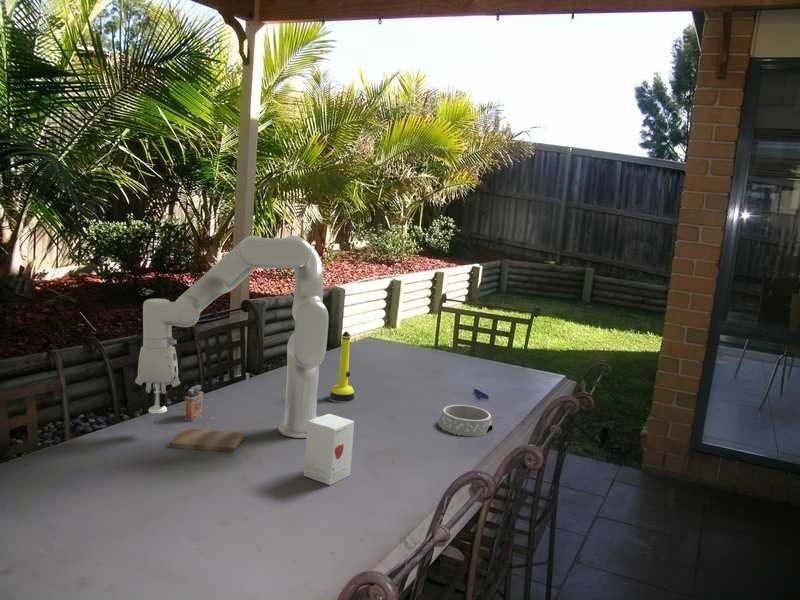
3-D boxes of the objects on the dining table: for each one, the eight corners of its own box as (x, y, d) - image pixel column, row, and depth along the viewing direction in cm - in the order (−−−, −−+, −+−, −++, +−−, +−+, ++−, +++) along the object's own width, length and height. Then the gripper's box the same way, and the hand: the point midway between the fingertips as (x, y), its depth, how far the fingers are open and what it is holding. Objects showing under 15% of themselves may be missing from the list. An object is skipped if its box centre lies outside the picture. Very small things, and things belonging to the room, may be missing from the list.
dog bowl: (498, 425, 219) (499, 410, 219) (481, 441, 203) (482, 424, 202) (451, 415, 227) (452, 400, 226) (431, 429, 210) (432, 413, 209)
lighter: (192, 422, 198) (193, 391, 197) (182, 420, 199) (183, 389, 198) (205, 414, 206) (206, 384, 205) (195, 413, 207) (196, 383, 206)
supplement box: (330, 486, 162) (333, 429, 159) (302, 476, 166) (306, 420, 164) (351, 475, 169) (355, 420, 167) (324, 465, 174) (328, 412, 172)
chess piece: (151, 407, 187) (151, 374, 186) (168, 408, 188) (168, 374, 186) (146, 413, 182) (146, 379, 181) (164, 413, 183) (164, 379, 181)
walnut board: (244, 436, 190) (244, 432, 190) (234, 452, 178) (234, 447, 178) (183, 432, 190) (183, 428, 190) (169, 447, 178) (169, 443, 178)
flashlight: (329, 331, 228) (352, 335, 225) (341, 328, 236) (363, 331, 233) (325, 399, 232) (347, 404, 228) (336, 393, 240) (358, 398, 237)
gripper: (190, 341, 186) (190, 402, 189) (134, 338, 186) (135, 400, 188) (181, 347, 178) (181, 411, 181) (123, 344, 178) (124, 408, 181)
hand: (157, 404), depth 185 cm, fingers closed on chess piece
